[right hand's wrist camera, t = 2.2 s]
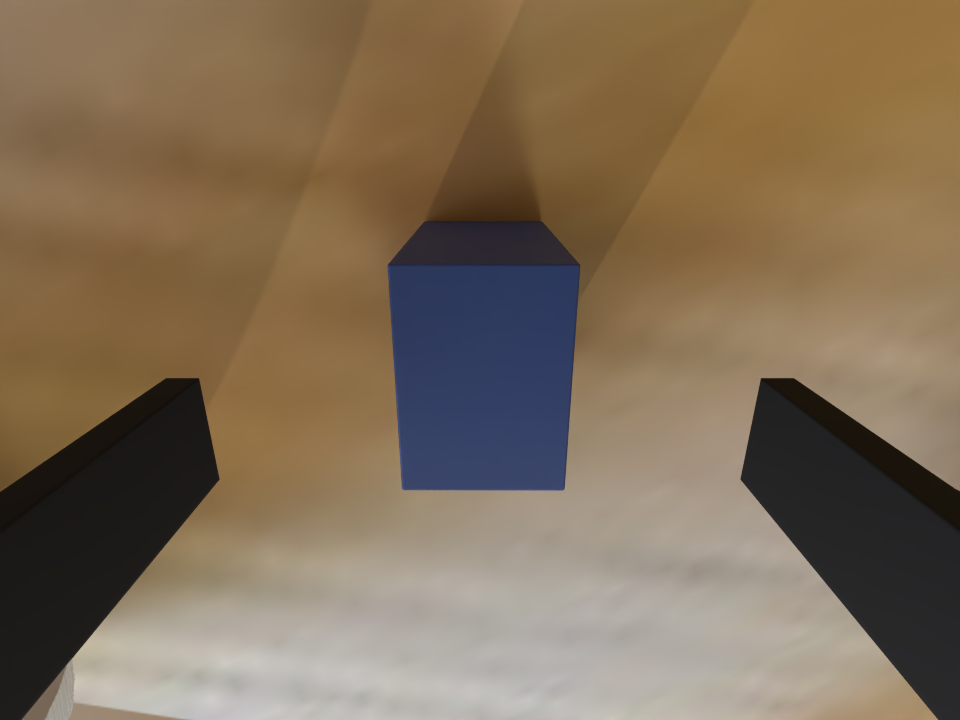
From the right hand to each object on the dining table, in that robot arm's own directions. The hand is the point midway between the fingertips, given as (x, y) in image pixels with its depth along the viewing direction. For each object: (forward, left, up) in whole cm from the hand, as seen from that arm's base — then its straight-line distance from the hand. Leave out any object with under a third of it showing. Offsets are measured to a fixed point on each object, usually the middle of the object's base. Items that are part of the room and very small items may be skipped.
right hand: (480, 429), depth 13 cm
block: (0, 0, -10) cm, 10 cm away
